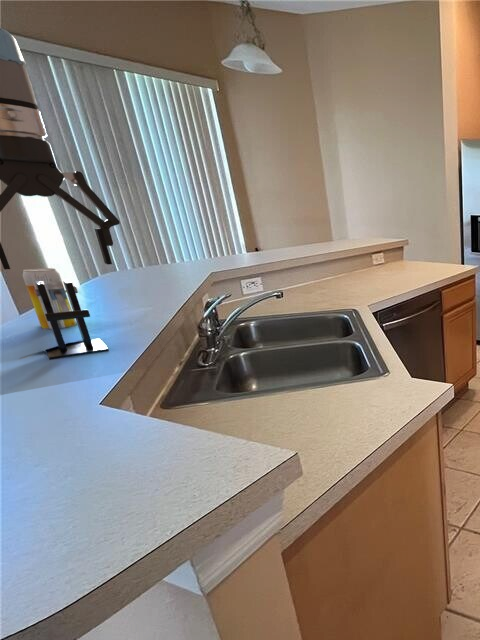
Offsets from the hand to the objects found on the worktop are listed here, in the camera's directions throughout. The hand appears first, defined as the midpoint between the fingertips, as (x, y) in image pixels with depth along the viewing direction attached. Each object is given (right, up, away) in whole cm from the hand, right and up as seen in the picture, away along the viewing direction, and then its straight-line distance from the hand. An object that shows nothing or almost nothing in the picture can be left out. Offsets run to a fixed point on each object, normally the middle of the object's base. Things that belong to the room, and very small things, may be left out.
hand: (60, 266), depth 82 cm
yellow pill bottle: (-27, -9, +26) cm, 38 cm away
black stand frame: (-8, -15, +12) cm, 21 cm away
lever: (-5, -7, +5) cm, 10 cm away
